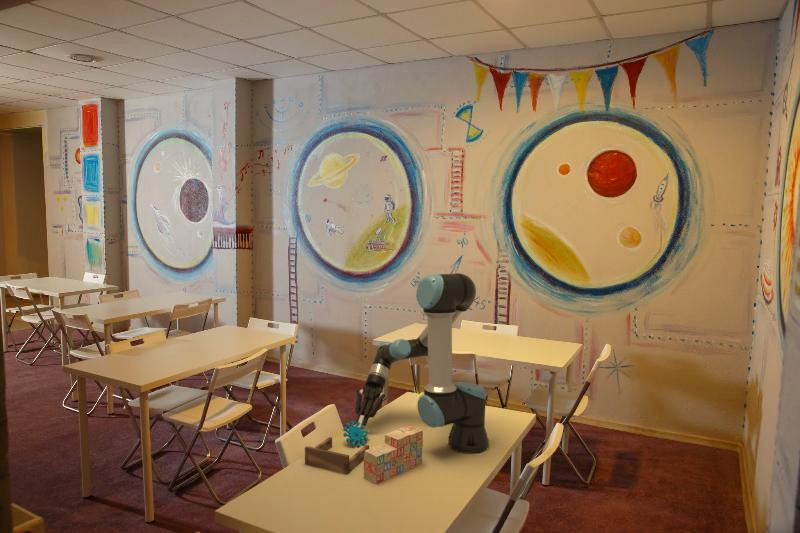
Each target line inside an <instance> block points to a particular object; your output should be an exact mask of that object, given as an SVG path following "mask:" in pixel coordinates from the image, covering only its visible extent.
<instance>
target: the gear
mask: <svg viewBox="0 0 800 533" xmlns="http://www.w3.org/2000/svg"><path fill="white" fill-rule="evenodd" d="M354 424H355V425H354ZM359 425H360V423H359V422H357V423H356V422H355V420H350V422H347V423H345V426H344V427H343V428H342V430H343V431H344V433H343V434H342V435H343V437H344V438H345V437H347V438H346V439H345V441H346V443H350V442H351V441H352V442H351V443H350V446H352V447H354V446H355V445H356V447H357V448H360V447H361V446H363V445H364V446H365V445H366V441H367V440H368V439H369V437H368V436H367V435H368V434H369V433H370V430H369V429H367V430H365V427H366V426H364V425H363V426H361V427H357V426H359ZM361 429H362V430H361ZM356 442H357V444H356Z"/></svg>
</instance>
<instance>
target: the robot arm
mask: <svg viewBox="0 0 800 533" xmlns="http://www.w3.org/2000/svg"><path fill="white" fill-rule="evenodd" d="M475 284H476V283H474V281H473V279H472V278H470V277H469V276H468V275H466V274H464V273H441V274H440V273H437V274H435V273H434V274H430V275H425V276H423V277H422V278H421V280H420V281H419V282H418V285H417V287H416V294H415V295H416V297H415V298H416V301H417V304H418V306H420V307H421V308H422V309H423V310H422V313H424V315H426V316H427V317H426V318H427V325H426V326H425V327H424V329H423V331H422V332H421V333H420V334H419V336H418V337H417V338H413V339H404V338H399V339H396V340H394V341H393V342H390V341H382V342H380V343H379V345H378V347H377V350H376V353H375V356H374V358H373V362H372V364H371V367H370V370H369V372H368V375H367V378H366V381H365V385H364V386H363V387H362V389H360V390H359V389H356V401H355V402H356V403H355V411H354V412H355V413H356V415H357V416H358V417H357V420H356V422H355V424H356V423H357V422H359V423H360V425H359V426H357V427H361V426H363V425H364V427H366V426H367V424H368V421H369V419H370V418H372V419H374V418H375V416H376V415H377V412H378V411H379V408H380V407H381V406H382V404H383V403H384V401H386V399H387V398H388V397H387V396H386V394H385V393H384V391H383V390H384V388H385V385H386V381H387V379H388V376H389V372H390V371H391V370H390V369H391V368H392V364H394V363H397V362H398V361H402V360H409V359H414V358H421V357H427V373H428V374H427V380H428V381H427V382H428V383H426V385H425V386H424V387H423V394H422V395H421V396H419V398H418V400H417V402H416V403H417V404H416V406H417V411H418V415H419V417H420V419H421V420H422V422H423V423H424V425H426V426H427V427H430V428H442V427H444V426H449V425H451V424H452V427H451V429H450V431H449V435H448V438H447V441H448V442H447V444H448V446H449V447H450V448H451V449H452V450H455V451H456V452H460V453H465V454H478V453H477V452H479V453H483V452H485V451H487V450H488V449H489V447H488V446H489V444H490V443H489V442H490V441H489V437H488V434H487V429H486V427H485V425H486V423H485V421H486V405H487V404H486V402H487V400H486V399H487V396H486V389H485V388H484V386H482V385H480V384H477V383H473V382H468V381H458V382H457V381H456V382H455V383H453V324H454V323H455V321H456V320H457V319H458V317H459V316H461V314H462V313H464V312H466V311H468V310H469V309H470V307H471V306H472V304H473V303H474V301H475V299H476V297H477V296H476V295H477V289H476V285H475ZM361 430H362V429H361ZM362 431H363V430H362ZM487 448H488V449H487ZM486 449H487V450H486ZM484 450H485V451H484ZM482 451H483V452H482Z"/></svg>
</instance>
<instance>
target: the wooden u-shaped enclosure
mask: <svg viewBox="0 0 800 533" xmlns="http://www.w3.org/2000/svg"><path fill="white" fill-rule="evenodd" d="M332 447H333V437H331V436H330V437H327V438H326V439H325V440H323V441H322V442H321V443H319V444H317V445H316V446H315V447H313V446H307V445H306V446H305V447H304V465H305V466H311V467H315V468H319V469H324V470H327V471H331V472H337V473H340V474H345V475H348V474H350V472H352V471H353V470H354V469H355V468H356V467H357V466H359V465H360V464H361V462H364V453H365V450H368V449H370V444H364V446H363V447H362V448H360V450H358V451H357V452H356V453H355V454H353V455H352V456H351V457H350V455H349V454H344V453H340V452H336V451H330V449H331V448H332Z"/></svg>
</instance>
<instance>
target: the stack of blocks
mask: <svg viewBox="0 0 800 533" xmlns="http://www.w3.org/2000/svg"><path fill="white" fill-rule="evenodd" d="M423 432H424V431H423V430H422V429H420V428H418V427H415V426H412V425H407V426H405V427H404V426H403V427H401V428H398V429H396V430H393V431H390V432H388V433H385V434H384V443H382V444H379V445H376V446H374V447H370V448H369V449H368V450H365V453H364V460H363V478H365V479H366V480H368V481H370V482H371V483H373V484H375V485H377V484H379V483H382V482H384V481H387V480H389V479H392V478H394V477H396V476H398V475H400V474H403V473H405V472H408V471H409V470H412V469H414V468H417V467H419V466H421V465H423V441H424V440H423V435H424V434H423Z"/></svg>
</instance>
